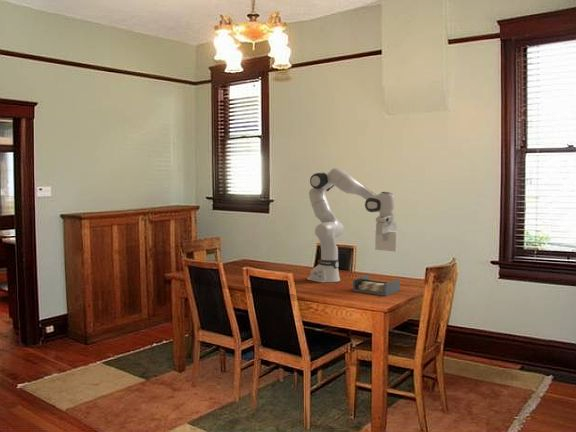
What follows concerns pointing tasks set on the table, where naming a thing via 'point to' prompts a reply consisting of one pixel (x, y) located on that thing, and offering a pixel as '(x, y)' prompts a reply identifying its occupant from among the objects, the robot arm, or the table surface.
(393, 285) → the rack
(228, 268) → the table surface
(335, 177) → the robot arm
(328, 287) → the table surface
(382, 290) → the offcut stack
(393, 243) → the cream slab
